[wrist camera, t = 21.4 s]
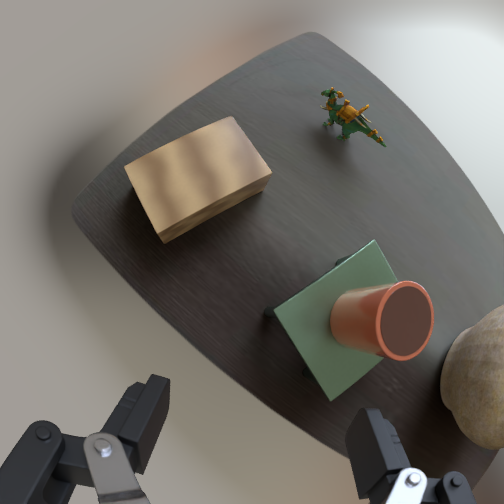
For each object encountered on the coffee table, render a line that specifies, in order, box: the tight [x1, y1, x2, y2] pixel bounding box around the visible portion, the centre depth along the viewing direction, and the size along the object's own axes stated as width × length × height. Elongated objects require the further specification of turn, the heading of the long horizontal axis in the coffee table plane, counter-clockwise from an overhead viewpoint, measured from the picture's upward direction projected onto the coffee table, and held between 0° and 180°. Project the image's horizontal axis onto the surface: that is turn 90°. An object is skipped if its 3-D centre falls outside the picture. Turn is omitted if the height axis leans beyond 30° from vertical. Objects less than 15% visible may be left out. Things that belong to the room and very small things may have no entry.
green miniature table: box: [264, 240, 398, 401], centre depth 30 cm, size 13×11×8 cm
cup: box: [330, 281, 434, 361], centre depth 22 cm, size 6×6×8 cm
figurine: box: [320, 88, 386, 147], centre depth 35 cm, size 3×12×8 cm, turn 48°
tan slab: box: [124, 116, 272, 244], centre depth 32 cm, size 14×9×5 cm, turn 122°
